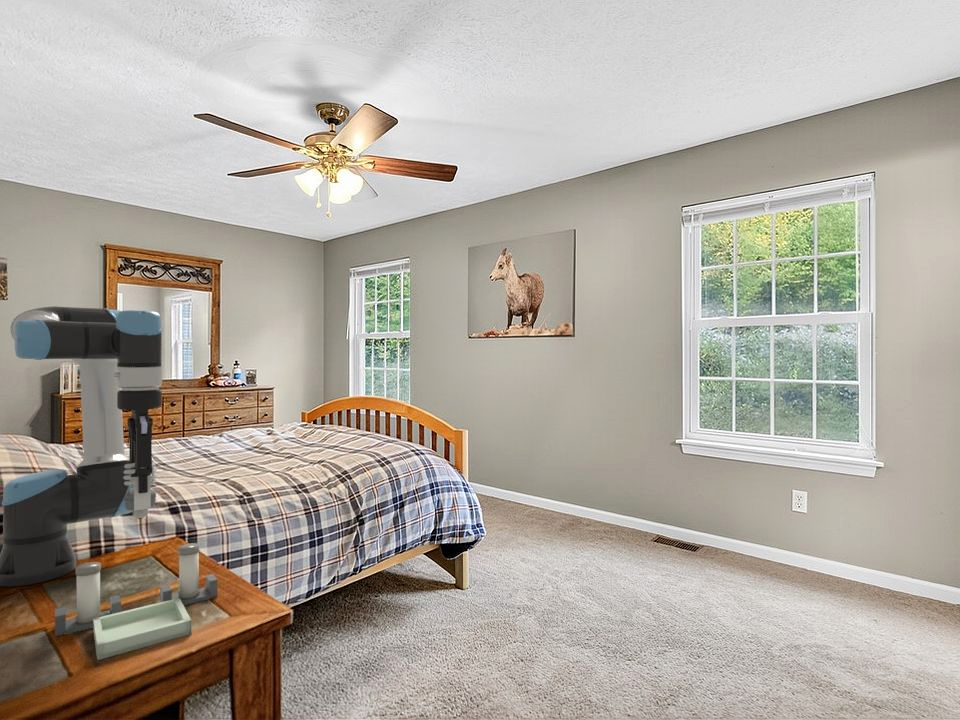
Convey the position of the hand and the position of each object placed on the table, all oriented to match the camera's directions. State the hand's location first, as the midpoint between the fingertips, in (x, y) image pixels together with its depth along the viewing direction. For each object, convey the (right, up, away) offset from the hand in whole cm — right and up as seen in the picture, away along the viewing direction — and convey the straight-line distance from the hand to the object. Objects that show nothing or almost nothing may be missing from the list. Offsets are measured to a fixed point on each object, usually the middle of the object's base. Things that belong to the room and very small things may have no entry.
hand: (140, 505), depth 109 cm
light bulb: (0, -3, 0) cm, 3 cm away
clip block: (0, -21, 0) cm, 21 cm away
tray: (+6, -21, -9) cm, 23 cm away
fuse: (-6, -21, -5) cm, 23 cm away
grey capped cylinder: (+7, -21, +5) cm, 22 cm away
